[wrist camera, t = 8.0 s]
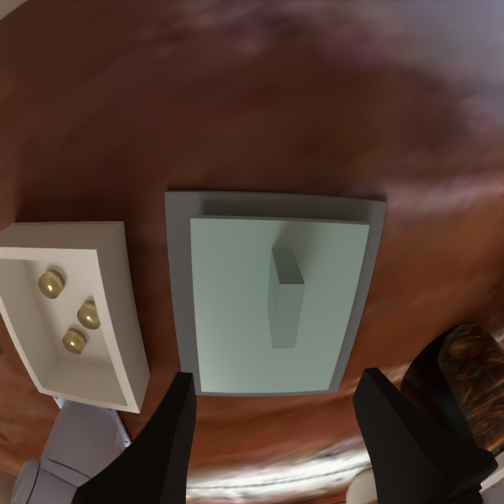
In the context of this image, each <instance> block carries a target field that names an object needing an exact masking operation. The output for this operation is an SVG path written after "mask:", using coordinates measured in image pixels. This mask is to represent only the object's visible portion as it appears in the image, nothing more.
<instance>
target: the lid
mask: <svg viewBox="0 0 504 504" xmlns="http://www.w3.org/2000/svg"><path fill="white" fill-rule="evenodd" d="M190 224H191V254H192V276H193V294H194V310H195V324H196V337H197V349H198V361H199V371H200V381H201V391H202V392H222V393H279V392H303V391H318V390H328V388H329V385H330V382H331V379H332V376H333V372H334V369H335V366H336V363H337V359H338V356H339V353H340V349H341V346H342V342H343V339H344V335H345V332H346V328H347V324H348V321H349V317H350V313H351V309H352V305H353V301H354V297H355V293H356V289H357V284H358V280H359V276H360V271H361V266H362V262H363V257H364V252H365V247H366V242H367V237H368V231H369V226H370V225H369V224H368V223H367V222H361V221H345V220H326V219H306V218H282V217H254V216H216V215H192V216H191V218H190Z"/></svg>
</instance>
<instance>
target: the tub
mask: <svg viewBox="0 0 504 504" xmlns="http://www.w3.org/2000/svg"><path fill="white" fill-rule="evenodd" d="M49 269H53V270H56V271H57V272H59V273H60V274H61V276H62V277H63V279H64V282H65V287H64V290H63V291H62V292H61V293H60V294H59V296H58V297H57V298H55V299H50V298H47V297H46V296H45V295H44V294H43V293H42V292H41V291H40V289H39V286H38V280H39V278H40V277H41V276H42V275H43V274H44V273H45V272H46V271H47V270H49ZM85 301H94V302H95V305H96V309H97V313H98V316H99V320H100V326H99V328H97V329H95V330H91V329H87V328H85V327H84V326H83V325H82V324H81V323H80V322H79V320H78V318H77V312H78V310H79V309H80V307H81V306H82V304H83V303H84V302H85ZM0 312H1V315H2V317H3V320H4V322H5V324H6V327H7V329H8V331H9V334H10V336H11V338H12V340H13V343H14V345H15V347H16V349H17V351H18V353H19V355H20V357H21V359H22V361H23V363H24V365H25V367H26V369H27V371H28V373H29V375H30V376H31V378H32V380H33V382H34V384H35V385H36V387H37V389H38V391H39V392H41V393H44V394H48V395H51V396H55V397H59V398H63V399H67V400H71V401H75V402H80V403H84V404H89V405H94V406H99V407H104V408H110V409H115V410H121V411H128V412H134V413H140V411H141V407H142V403H143V399H144V395H145V392H146V388H147V384H148V381H149V377H150V371H149V367H148V362H147V358H146V354H145V350H144V345H143V340H142V336H141V331H140V326H139V321H138V316H137V311H136V305H135V300H134V294H133V288H132V281H131V275H130V268H129V261H128V254H127V246H126V237H125V228H124V221H77V222H26V223H13V224H12V225H10V226H9V227H7V228H6V229H4V230H3V231H1V232H0ZM71 328H73V329H77V330H79V331H80V332H82V333H83V334H84V336H85V337H86V340H87V343H86V345H85V347H84V349H83V351H82V353H80V354H73V353H71V352H69V351H68V350H67V349H66V348H65V347H64V345H63V343H62V338H63V337H64V335H65V333H66V332H67V330H68V329H71Z"/></svg>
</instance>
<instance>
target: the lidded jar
mask: <svg viewBox="0 0 504 504" xmlns="http://www.w3.org/2000/svg"><path fill="white" fill-rule="evenodd" d="M353 480H354V481H353V482H352V484H351V485H350V487H349V488H348V491H347V495H346V504H378V502H377V493H376V486H375V479H374V474H373V469H369V470H366V471H364V472H362V473H360V474H358V475H357V476H356V477H355V478H354V479H353Z"/></svg>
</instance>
